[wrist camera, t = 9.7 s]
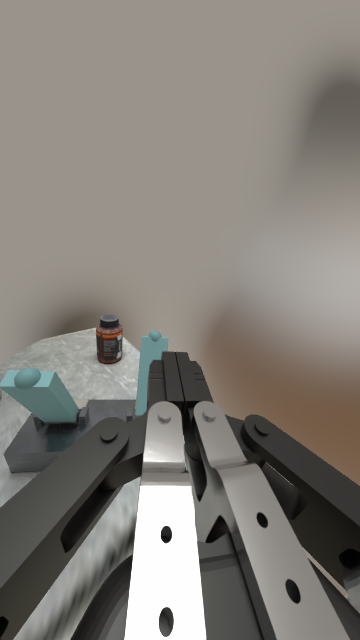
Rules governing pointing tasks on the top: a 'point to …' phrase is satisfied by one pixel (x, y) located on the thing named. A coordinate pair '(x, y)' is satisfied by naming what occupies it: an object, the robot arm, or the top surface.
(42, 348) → the top surface
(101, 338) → the supplement bottle
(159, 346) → the outer lever
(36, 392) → the inner lever
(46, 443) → the switch box
